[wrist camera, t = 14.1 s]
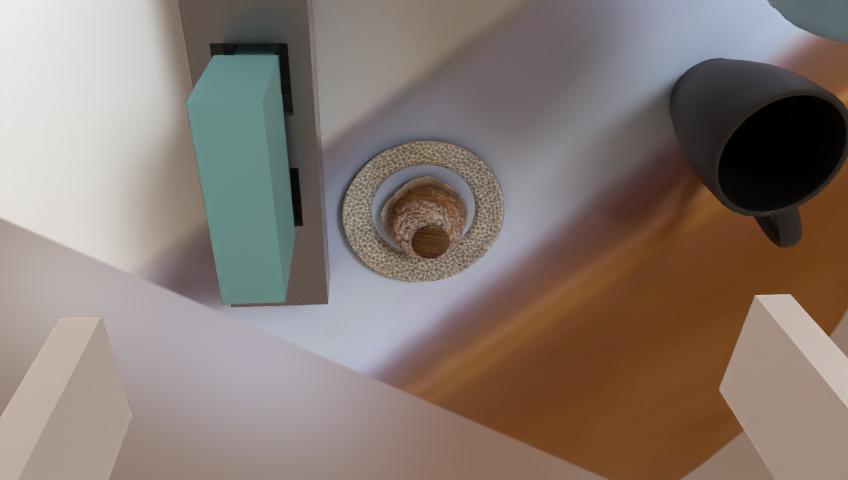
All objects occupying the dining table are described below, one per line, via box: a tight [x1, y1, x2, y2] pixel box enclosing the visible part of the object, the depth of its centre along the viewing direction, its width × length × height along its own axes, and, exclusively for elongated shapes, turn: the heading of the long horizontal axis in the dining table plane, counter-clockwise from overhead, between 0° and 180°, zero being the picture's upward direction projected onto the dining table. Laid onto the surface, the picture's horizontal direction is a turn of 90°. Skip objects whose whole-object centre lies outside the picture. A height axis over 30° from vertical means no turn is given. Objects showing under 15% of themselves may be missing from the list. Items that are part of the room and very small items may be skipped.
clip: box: [186, 43, 295, 304], centre depth 39 cm, size 12×4×12 cm, turn 178°
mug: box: [669, 58, 848, 248], centre depth 43 cm, size 8×12×10 cm
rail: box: [178, 0, 330, 307], centre depth 42 cm, size 26×7×4 cm, turn 178°
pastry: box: [342, 141, 504, 282], centre depth 47 cm, size 12×12×5 cm
